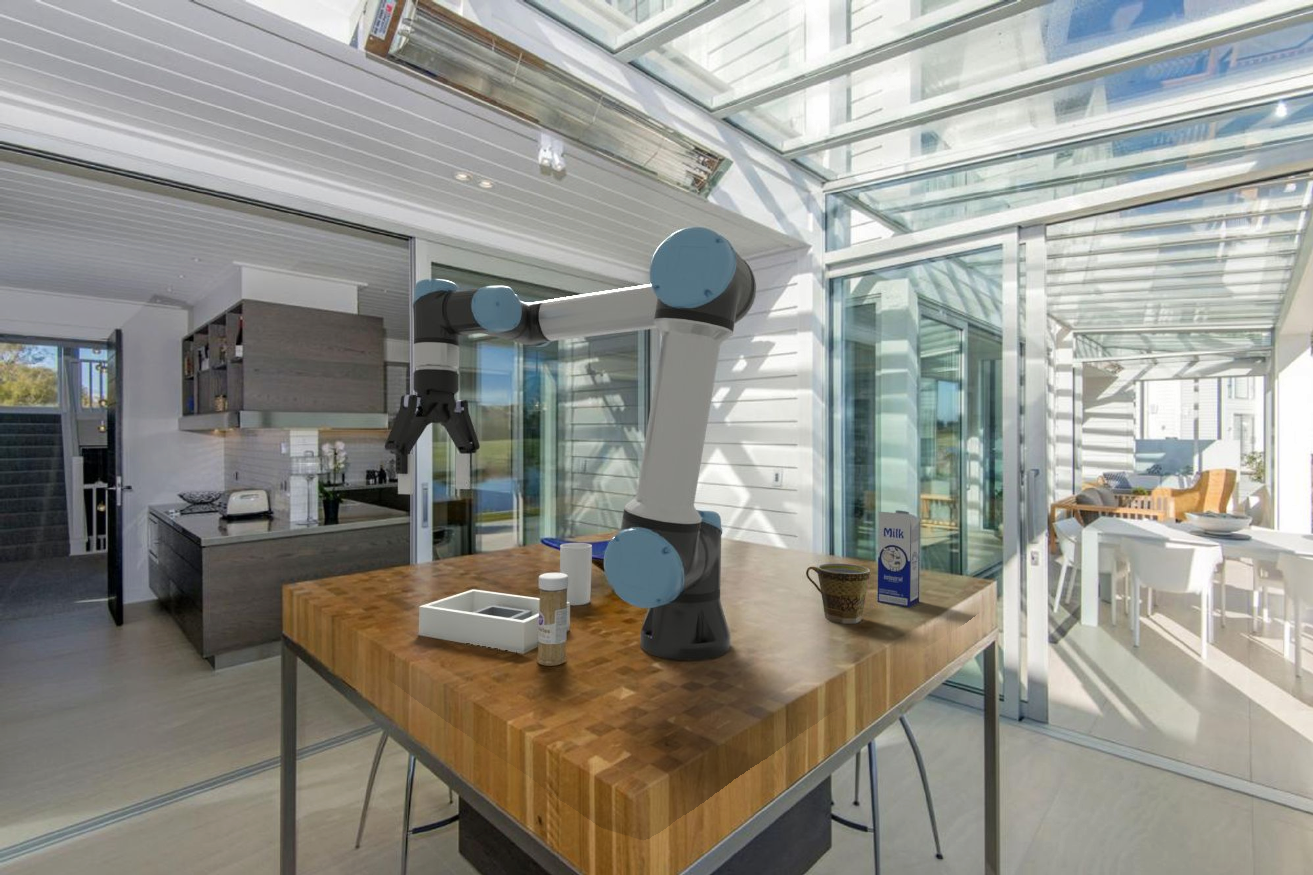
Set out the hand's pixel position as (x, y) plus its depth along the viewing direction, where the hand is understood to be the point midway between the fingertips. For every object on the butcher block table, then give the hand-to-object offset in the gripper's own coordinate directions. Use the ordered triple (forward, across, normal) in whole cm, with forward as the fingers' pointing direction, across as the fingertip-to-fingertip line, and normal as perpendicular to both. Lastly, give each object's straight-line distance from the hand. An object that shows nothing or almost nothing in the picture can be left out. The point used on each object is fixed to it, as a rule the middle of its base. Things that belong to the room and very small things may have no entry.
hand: (435, 491), depth 108 cm
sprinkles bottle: (+26, +2, +25) cm, 36 cm away
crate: (+25, -6, +8) cm, 27 cm away
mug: (+26, -32, +9) cm, 42 cm away
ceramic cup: (+26, -43, +62) cm, 80 cm away
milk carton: (+27, -62, +73) cm, 100 cm away
